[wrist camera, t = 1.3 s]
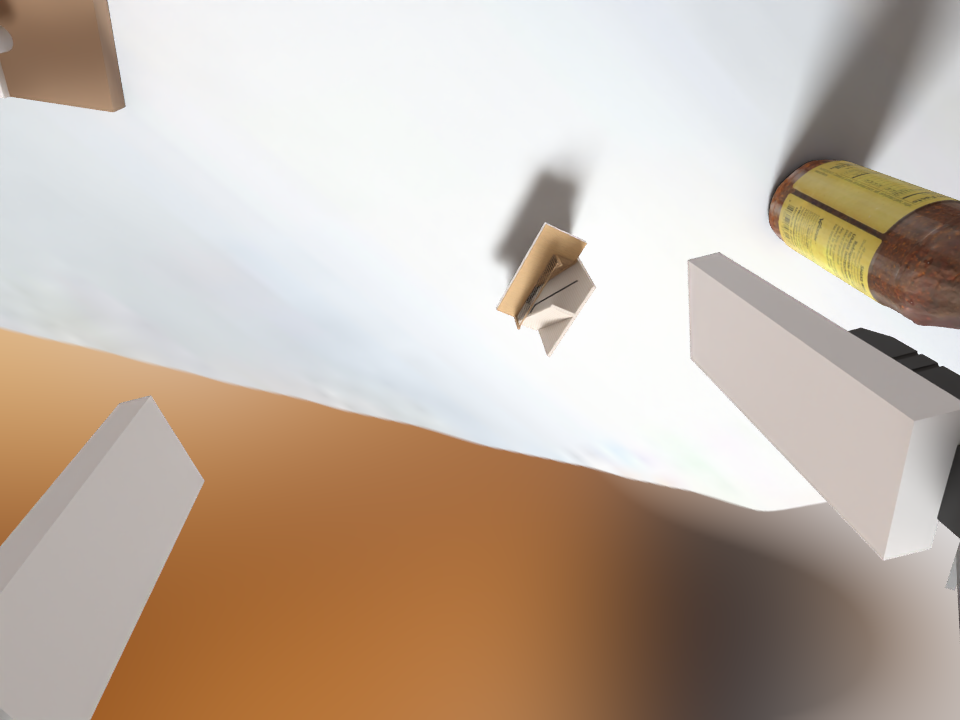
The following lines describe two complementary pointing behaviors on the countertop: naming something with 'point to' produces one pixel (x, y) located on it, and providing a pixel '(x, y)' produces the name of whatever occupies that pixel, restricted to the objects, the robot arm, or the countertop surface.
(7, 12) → the brown board with bar
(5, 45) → the block
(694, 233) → the countertop surface
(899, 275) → the sauce bottle
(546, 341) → the architectural model
